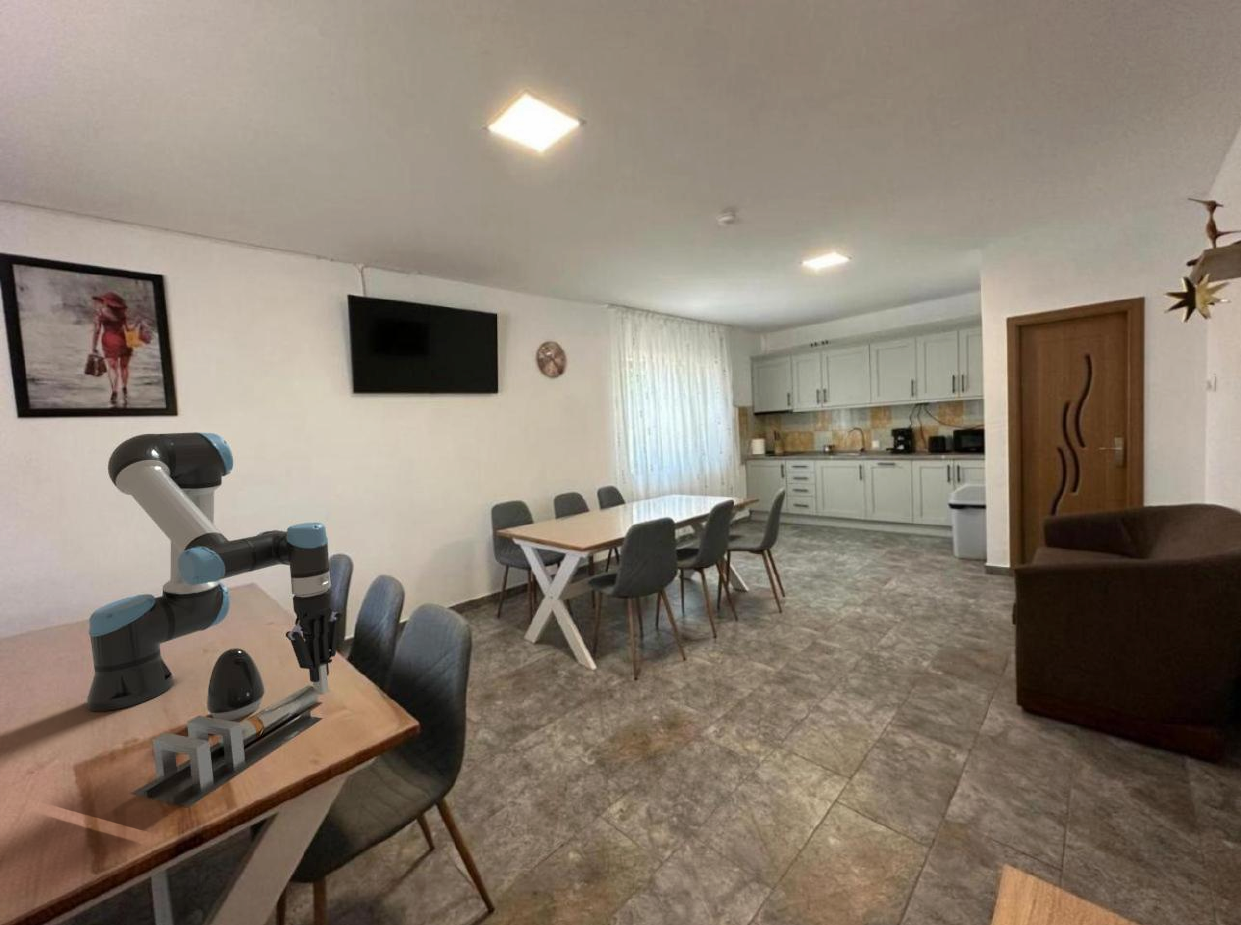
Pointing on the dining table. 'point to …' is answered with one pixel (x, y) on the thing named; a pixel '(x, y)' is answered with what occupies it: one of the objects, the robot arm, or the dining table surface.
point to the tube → (276, 714)
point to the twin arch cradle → (211, 757)
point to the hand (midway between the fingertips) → (321, 692)
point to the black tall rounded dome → (234, 686)
